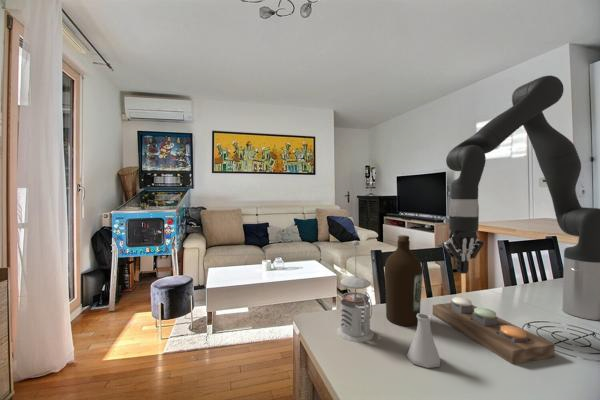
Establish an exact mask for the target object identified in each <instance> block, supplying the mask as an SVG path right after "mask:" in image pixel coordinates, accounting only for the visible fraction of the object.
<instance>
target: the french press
mask: <svg viewBox="0 0 600 400" xmlns="http://www.w3.org/2000/svg"><path fill="white" fill-rule="evenodd" d="M352 246H354V247H355V249H354V250H355V251H354V253H355V257H354V259H355V260H354V262H355V263H354V265H355V268H354V269H355V270H354V271H355V272H354V275H349V276H346V277H343V279H341V280H340V284H341V286H343V287H345V288H348V289H354V291H353V292H345V293H343V294H342V296H341V298H342V299H341V301H340V310H341V311H340V326H339V327H338V328H337V330H336V332H337V334H338V336H339V337H340V338H342V339H343V340H346V341H349V342H355V343H360V342H361V343H364V342H368V341H370V340H373V338H374V332H373V330H372V329H371V318H372V315H373V304H372V300H371V297H370V295H369V293H368V292H367V291H366V292H365V294H364V293H362V292H357V290H359V289H361V290H362V289H367V288H369V287H370V286H371V285H372V282H370V281H371V280H370V281H369V280H368V279H367V278H366V277H363V276H359V275H357V246H360V241H359V240H353V241H352ZM357 306H358V307H357Z"/></svg>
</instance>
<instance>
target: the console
mask: <svg viewBox="0 0 600 400" xmlns="http://www.w3.org/2000/svg"><path fill="white" fill-rule="evenodd" d="M472 305H473V304H472ZM475 308H479V307H477V306H476V305H473V312H474V309H475ZM432 315H433V316H434V317H436V318H437V319H438V320H439V319H440V320H441V321H443V322H444V323H445V324H448V325H449V326H450V327H452V328H453V329H455V330H456V331H458V332H460V333H462V334H464V335H465V336H467V337H468V338H469V339H471V340H473V341H475V342H476V343H478V344H480V345H481V346H482V347H484V348H486V349H487V350H488V351H490V352H492V353H494V354H496V355H497V356H498V357H501V358H502V359H503V360H505V361H506V362H508V363H510V364H512V365H517V364H522V363H528V362H533V361H539V360H545V359H552V358H555V352H556V351H555V350H556V349H555V343H553V342H550V341H549V340H546V339H544V338H542V337H540V336H538V335H536V334H534V333H532V332H530V331H527V330H526V329H524V328H523V327H520V326H517V325H515V324H513V323H511V322H510V321H509V322H508V321H507V320H506V319H503V318H500V317H498V316H497V317H498V323H497V326H489V327H484V326H482V325H480V324H479V323H477V322H475V321H473V320H472V319H473V313H465V314H460V313H458V312H457V311H455V310H453V309H451V302H446V303H438V304H432ZM504 325H508V326H514V327H517V328H520V329H522V330H524V331H525V332H526V336H528V341H525V342H518V343H514V342H512V341H510V340H508V339H506V338H504V337H503V336H501V335H499V330H501V326H504Z"/></svg>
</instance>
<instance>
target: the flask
mask: <svg viewBox="0 0 600 400" xmlns="http://www.w3.org/2000/svg"><path fill="white" fill-rule="evenodd" d="M417 318H418V324H417V325H416V326H417V327H416V331H415V333H414V337H413V339H412V341H411V344H410V346H409V349H408V352H407V355H406V358H407V359H408V360H409V361H410V362H411V363H412V365H416V366H420V367H424V368H427V369H430V368H440V367H441V357H440V354H439V352H438V351H439V350H438V348H437V347H436V344H435V339H434V337H433V334H432V327H431V322H432V319H433V318H432V316H431V315H429V314H428V313H424V312H422V313H421V312H420V313H418V314H417Z"/></svg>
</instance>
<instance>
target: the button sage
mask: <svg viewBox="0 0 600 400" xmlns="http://www.w3.org/2000/svg"><path fill="white" fill-rule="evenodd" d="M472 320H473V321H475V322H477V323H479V324H480V325H482V326H484V327H489V326H497V323H498V316H497V312H496V311H495V310H492V309H489V308H485V307H478V308H475V309H474V312H473V319H472Z"/></svg>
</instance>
